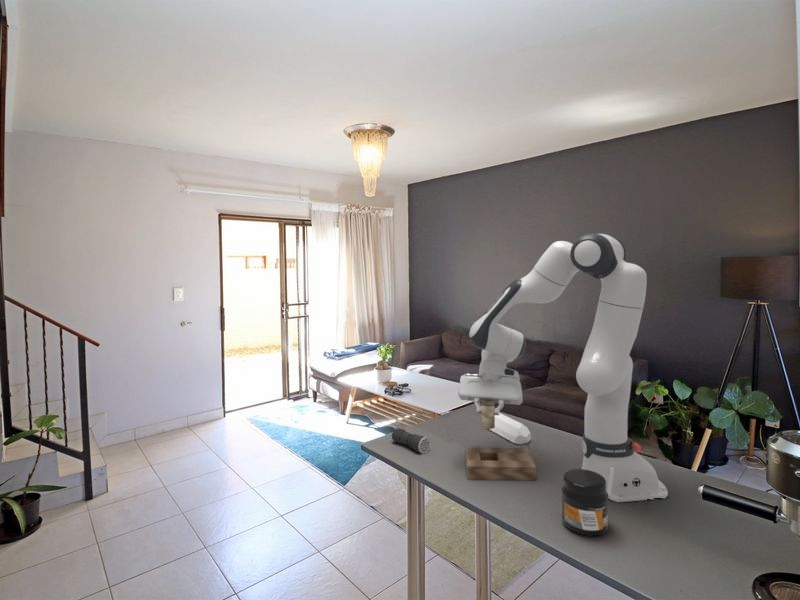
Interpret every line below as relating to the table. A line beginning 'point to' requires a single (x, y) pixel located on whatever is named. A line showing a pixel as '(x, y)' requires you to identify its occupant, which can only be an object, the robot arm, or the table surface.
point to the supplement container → (585, 502)
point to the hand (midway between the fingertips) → (487, 413)
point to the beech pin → (488, 414)
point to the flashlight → (411, 440)
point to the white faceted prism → (511, 429)
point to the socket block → (499, 463)
